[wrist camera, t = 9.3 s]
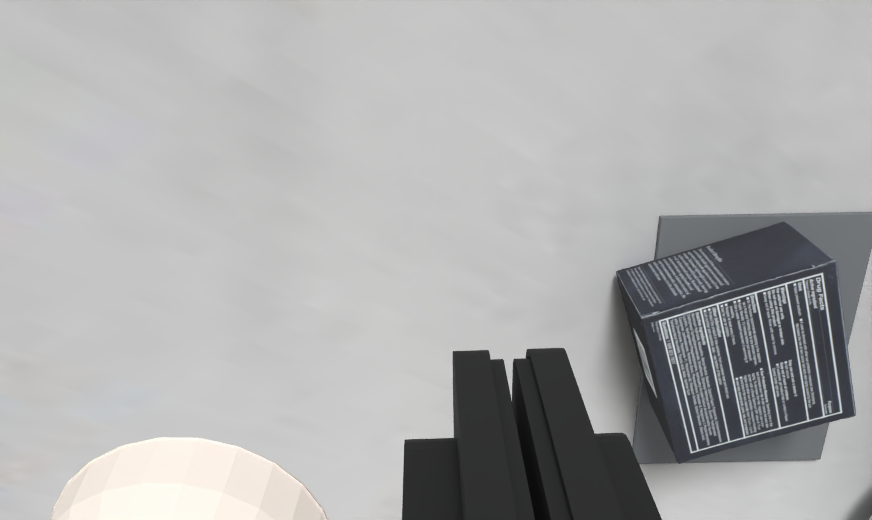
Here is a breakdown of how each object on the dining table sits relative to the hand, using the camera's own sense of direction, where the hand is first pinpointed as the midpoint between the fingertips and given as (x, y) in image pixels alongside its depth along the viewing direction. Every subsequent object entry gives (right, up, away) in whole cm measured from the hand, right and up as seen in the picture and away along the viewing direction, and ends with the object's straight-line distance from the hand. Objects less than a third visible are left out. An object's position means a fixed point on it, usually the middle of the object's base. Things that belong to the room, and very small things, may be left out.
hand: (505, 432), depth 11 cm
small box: (+11, -4, +33) cm, 35 cm away
